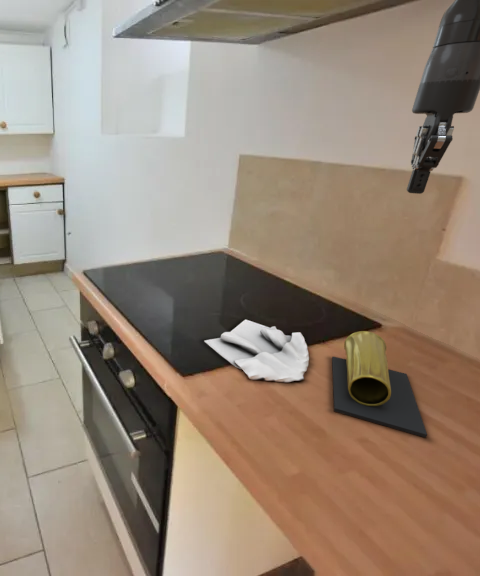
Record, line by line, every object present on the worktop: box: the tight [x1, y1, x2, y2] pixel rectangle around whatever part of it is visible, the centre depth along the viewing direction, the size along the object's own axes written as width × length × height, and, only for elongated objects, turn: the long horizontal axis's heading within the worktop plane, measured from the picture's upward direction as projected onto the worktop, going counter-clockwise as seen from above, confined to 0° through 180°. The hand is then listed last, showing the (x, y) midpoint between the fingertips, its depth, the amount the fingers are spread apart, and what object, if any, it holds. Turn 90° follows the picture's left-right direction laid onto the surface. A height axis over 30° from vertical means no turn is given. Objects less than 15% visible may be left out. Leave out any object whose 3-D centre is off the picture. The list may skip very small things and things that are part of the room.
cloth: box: [203, 319, 310, 384], centre depth 73 cm, size 20×22×2 cm
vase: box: [343, 330, 391, 406], centre depth 62 cm, size 6×6×14 cm
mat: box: [331, 356, 428, 438], centre depth 61 cm, size 11×16×1 cm
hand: (414, 192), depth 66 cm, fingers closed
